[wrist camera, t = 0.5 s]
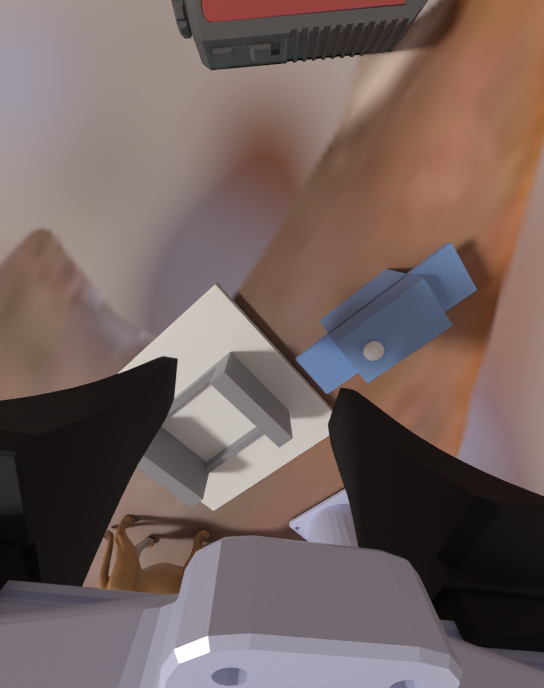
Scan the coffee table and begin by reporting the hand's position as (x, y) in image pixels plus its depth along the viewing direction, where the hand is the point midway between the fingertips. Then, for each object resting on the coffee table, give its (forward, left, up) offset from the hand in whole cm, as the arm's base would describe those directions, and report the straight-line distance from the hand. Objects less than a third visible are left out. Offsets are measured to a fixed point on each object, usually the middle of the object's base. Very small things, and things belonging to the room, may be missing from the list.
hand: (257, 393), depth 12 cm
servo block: (-4, -7, -10) cm, 13 cm away
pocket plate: (-3, +8, -10) cm, 13 cm away
